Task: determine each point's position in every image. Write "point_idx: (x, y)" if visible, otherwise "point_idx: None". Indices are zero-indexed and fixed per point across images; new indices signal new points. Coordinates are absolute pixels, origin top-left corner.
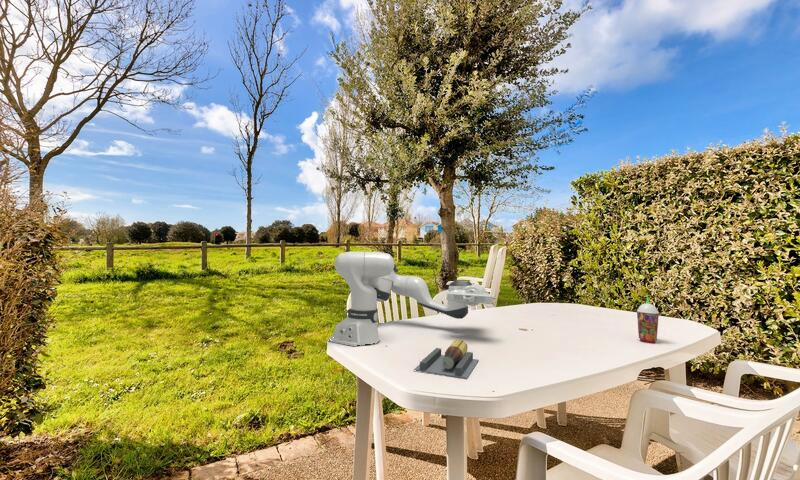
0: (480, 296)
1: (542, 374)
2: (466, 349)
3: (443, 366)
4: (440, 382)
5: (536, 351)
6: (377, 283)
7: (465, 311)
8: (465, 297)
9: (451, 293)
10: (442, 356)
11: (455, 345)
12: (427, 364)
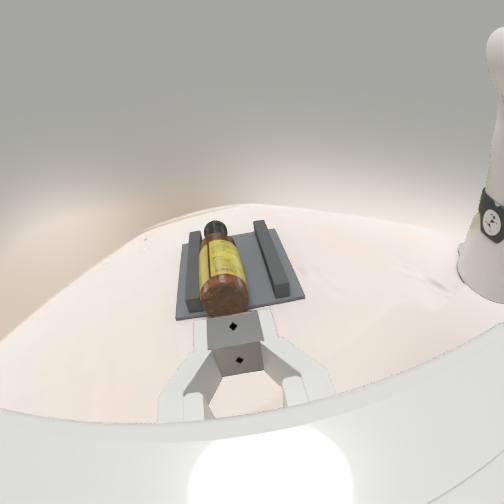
0: (81, 424)
1: (63, 312)
2: (199, 288)
3: None
4: None
5: None
6: None
7: None
8: (253, 323)
9: (485, 334)
10: (267, 293)
11: (214, 244)
12: (255, 231)
